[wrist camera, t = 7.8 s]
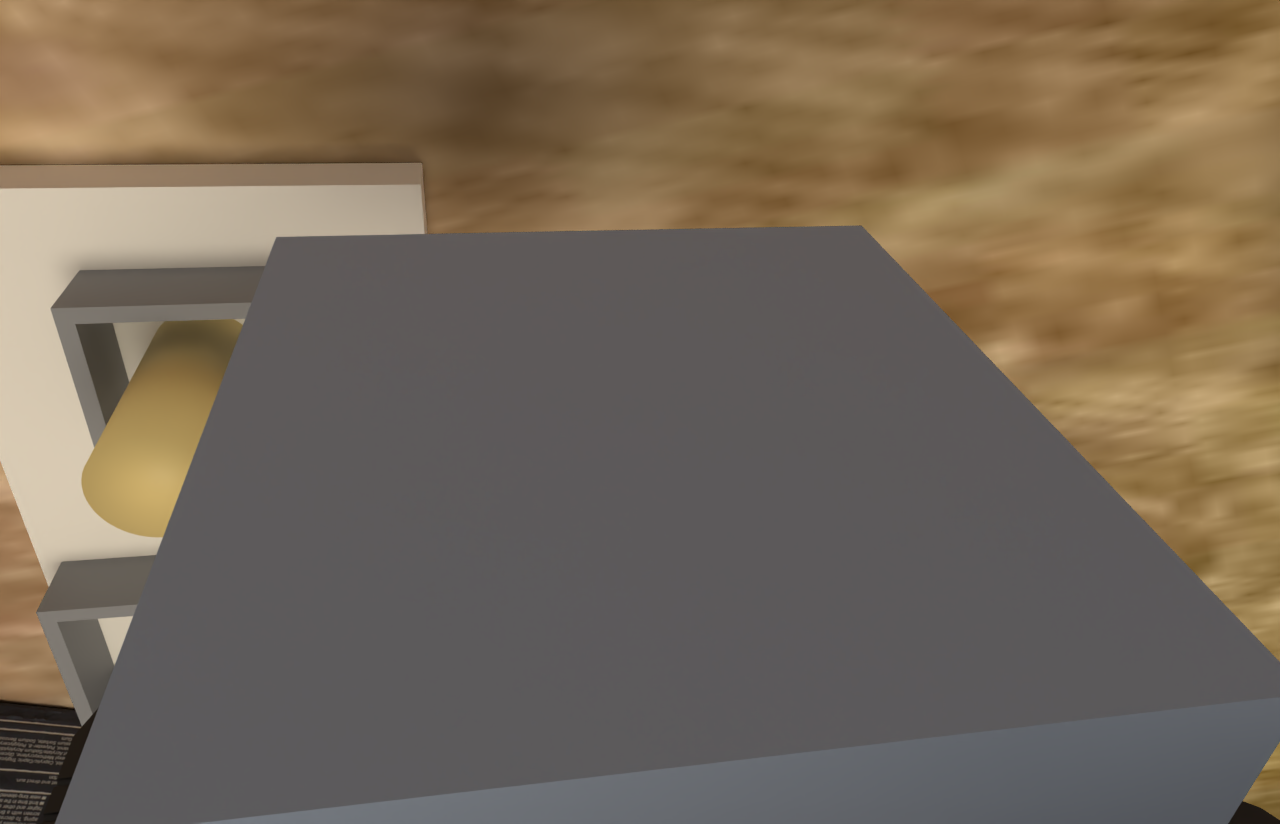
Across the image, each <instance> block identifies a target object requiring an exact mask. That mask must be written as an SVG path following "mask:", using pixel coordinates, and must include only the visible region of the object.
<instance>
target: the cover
mask: <svg viewBox="0 0 1280 824" xmlns="http://www.w3.org/2000/svg"><path fill="white" fill-rule="evenodd" d="M1279 742H1280V662H1279V661H1278V660H1277V659H1276V658H1275V657H1274V656H1273V655H1272V654H1271V653H1270V651H1269V650H1268V649H1267V648H1266V647H1265V646H1264V645H1263V644H1262V643H1261V642H1260V641H1259V640H1258V639H1257V638H1256V637H1255V636H1254V635H1253V634H1252V633H1251V632H1250V631H1249V630H1248V629H1247V627H1246V626H1245V625H1244V624H1243V623H1242V622H1241V621H1240V620H1239V619H1238V618H1237V617H1236V616H1235V615H1234V614H1233V613H1232V612H1231V611H1230V610H1229V609H1228V608H1227V607H1226V606H1225V605H1224V603H1223V602H1222V601H1221V600H1220V599H1219V598H1218V597H1217V596H1216V595H1215V594H1214V593H1213V592H1212V591H1211V590H1210V589H1209V588H1208V587H1207V586H1206V585H1205V584H1204V583H1203V582H1202V581H1201V579H1200V578H1199V577H1198V576H1197V575H1196V574H1195V573H1194V572H1193V571H1192V570H1191V569H1190V568H1189V567H1188V566H1187V565H1186V564H1185V563H1184V562H1183V561H1182V560H1181V559H1180V558H1179V557H1178V555H1177V554H1176V553H1175V552H1174V551H1173V550H1172V549H1171V548H1170V547H1169V546H1168V545H1167V544H1166V543H1165V542H1164V541H1163V540H1162V539H1161V538H1160V537H1159V536H1158V535H1157V534H1156V533H1155V531H1154V530H1153V529H1152V528H1151V527H1150V526H1149V525H1148V524H1147V523H1146V522H1145V521H1144V520H1143V519H1142V518H1141V517H1140V516H1139V515H1138V514H1137V513H1136V512H1135V511H1134V510H1133V509H1132V507H1131V506H1130V505H1129V504H1128V503H1127V502H1126V501H1125V500H1124V499H1123V498H1122V497H1121V496H1120V495H1119V494H1118V493H1117V492H1116V491H1115V490H1114V489H1113V488H1112V487H1111V486H1110V485H1109V483H1108V482H1107V481H1106V480H1105V479H1104V478H1103V477H1102V476H1101V475H1100V474H1099V473H1098V472H1097V471H1096V470H1095V469H1094V468H1093V467H1092V466H1091V465H1090V464H1089V463H1088V462H1087V461H1086V459H1085V458H1084V457H1083V456H1082V455H1081V454H1080V453H1079V452H1078V451H1077V450H1076V449H1075V448H1074V447H1073V446H1072V445H1071V444H1070V443H1069V442H1068V441H1067V440H1066V439H1065V438H1064V437H1063V435H1062V434H1061V433H1060V432H1059V431H1058V430H1057V429H1056V428H1055V427H1054V426H1053V425H1052V424H1051V423H1050V422H1049V421H1048V420H1047V419H1046V418H1045V417H1044V416H1043V415H1042V414H1041V412H1040V411H1039V410H1038V409H1037V408H1036V407H1035V406H1034V405H1033V404H1032V403H1031V402H1030V401H1029V400H1028V399H1027V398H1026V397H1025V396H1024V395H1023V394H1022V393H1021V392H1020V391H1019V390H1018V388H1017V387H1016V386H1015V385H1014V384H1013V383H1012V382H1011V381H1010V380H1009V379H1008V378H1007V377H1006V376H1005V375H1004V374H1003V373H1002V372H1001V371H1000V370H999V369H998V368H997V367H996V366H995V364H994V363H993V362H992V361H991V360H990V359H989V358H988V357H987V356H986V355H985V354H984V353H983V352H982V351H981V350H980V349H979V348H978V347H977V346H976V345H975V344H974V343H973V342H972V340H971V339H970V338H969V337H968V336H967V335H966V334H965V333H964V332H963V331H962V330H961V329H960V328H959V327H958V326H957V325H956V324H955V323H954V322H953V321H952V320H951V319H950V318H949V316H948V315H947V314H946V313H945V312H944V311H943V310H942V309H941V308H940V307H939V306H938V305H937V304H936V303H935V302H934V301H933V300H932V299H931V298H930V297H929V296H928V295H927V294H926V292H925V291H924V290H923V289H922V288H921V287H920V286H919V285H918V284H917V283H916V282H915V281H914V280H913V279H912V278H911V277H910V276H909V275H908V274H907V273H906V272H905V271H904V270H903V268H902V267H901V266H900V265H899V264H898V263H897V262H896V261H895V260H894V259H893V258H892V257H891V256H890V255H889V254H888V253H887V252H886V251H885V250H884V249H883V248H882V247H881V246H880V244H879V243H878V242H877V241H876V240H875V239H874V238H873V237H872V236H871V235H870V234H869V233H868V232H867V231H866V230H865V229H864V228H863V227H862V226H817V227H765V228H713V229H660V230H608V231H556V232H504V233H452V234H400V235H347V236H295V237H276V239H275V241H274V244H273V247H272V249H271V252H270V255H269V257H268V260H267V263H266V265H265V268H264V271H263V273H262V276H261V279H260V281H259V284H258V287H257V289H256V292H255V294H254V297H253V300H252V302H251V305H250V308H249V310H248V313H247V316H246V318H245V321H244V324H243V326H242V329H241V332H240V334H239V337H238V340H237V342H236V345H235V348H234V350H233V353H232V355H231V358H230V361H229V363H228V366H227V369H226V371H225V374H224V377H223V379H222V382H221V385H220V387H219V390H218V393H217V395H216V398H215V401H214V403H213V406H212V409H211V411H210V414H209V416H208V419H207V422H206V424H205V427H204V430H203V432H202V435H201V438H200V440H199V443H198V446H197V448H196V451H195V454H194V456H193V459H192V462H191V464H190V467H189V469H188V472H187V475H186V477H185V480H184V483H183V485H182V488H181V491H180V493H179V496H178V499H177V501H176V504H175V507H174V509H173V512H172V515H171V517H170V520H169V523H168V525H167V528H166V530H165V533H164V536H163V538H162V541H161V544H160V546H159V549H158V552H157V554H156V557H155V560H154V562H153V565H152V568H151V570H150V573H149V576H148V578H147V581H146V583H145V586H144V589H143V591H142V594H141V597H140V599H139V602H138V605H137V607H136V610H135V613H134V615H133V618H132V621H131V623H130V626H129V629H128V631H127V634H126V637H125V639H124V642H123V644H122V647H121V650H120V652H119V655H118V658H117V660H116V663H115V666H114V668H113V671H112V674H111V676H110V679H109V682H108V684H107V687H106V690H105V692H104V695H103V698H102V700H101V703H100V705H99V708H98V711H97V713H96V716H95V719H94V721H93V724H92V727H91V729H90V732H89V735H88V737H87V740H86V743H85V745H84V748H83V751H82V753H81V756H80V758H79V761H78V764H77V766H76V769H75V772H74V774H73V777H72V780H71V782H70V785H69V788H68V790H67V793H66V796H65V798H64V801H63V804H62V806H61V809H60V812H59V814H58V817H57V819H56V822H55V824H1228V823H1229V821H1230V820H1231V818H1232V817H1233V815H1234V813H1235V812H1236V810H1237V809H1238V807H1239V806H1240V804H1241V802H1242V801H1243V799H1244V798H1245V796H1246V794H1247V793H1248V791H1249V790H1250V788H1251V786H1252V785H1253V783H1254V782H1255V780H1256V778H1257V777H1258V775H1259V774H1260V772H1261V770H1262V769H1263V767H1264V766H1265V764H1266V762H1267V761H1268V759H1269V758H1270V756H1271V754H1272V753H1273V751H1274V750H1275V748H1276V747H1277V745H1278V743H1279Z"/></svg>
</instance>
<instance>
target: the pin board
mask: <svg viewBox="0 0 1280 824" xmlns="http://www.w3.org/2000/svg"><path fill="white" fill-rule="evenodd" d="M400 234H427V220H426V207H425V194H424V181H423V167H422V163H313V164H146V165H0V461H1V464H2V466H3V469H4V472H5V474H6V477H7V479H8V482H9V485H10V487H11V490H12V492H13V495H14V498H15V500H16V503H17V505H18V508H19V511H20V513H21V516H22V518H23V521H24V524H25V526H26V529H27V531H28V534H29V537H30V539H31V542H32V544H33V547H34V550H35V552H36V555H37V557H38V560H39V563H40V565H41V568H42V570H43V573H44V576H45V578H46V581H47V583H48V586H49V588H48V590H47V592H46V594H45V596H44V598H43V600H42V602H41V604H40V606H39V608H38V610H37V612H36V613H37V616H38V618H39V621H40V623H41V626H42V628H43V631H44V633H45V636H46V638H47V641H48V643H49V646H50V648H51V651H52V653H53V656H54V658H55V661H56V663H57V665H58V668H59V670H60V673H61V675H62V678H63V680H64V683H65V685H66V688H67V690H68V693H69V695H70V698H71V700H72V703H73V705H74V708H75V710H76V713H77V715H78V718H79V720H80V723H81V725H82V726H83V725H84V724H85V722H86V721H87V720H88V719H89V718H90V717H91V716H92V714H93V713H94V712H95V711H96V710H97V709H98V708H99V705H100V703H101V700H102V698H103V695H104V692H105V690H106V687H107V684H108V682H109V679H110V676H111V674H112V671H113V668H114V666H115V663H116V660H117V658H118V655H119V652H120V650H121V647H122V644H123V642H124V639H125V637H126V634H127V631H128V629H129V626H130V623H131V621H132V618H133V615H134V613H135V610H136V607H137V605H138V602H139V599H140V597H141V594H142V591H143V589H144V586H145V583H146V581H147V578H148V576H149V573H150V570H151V568H152V565H153V562H154V560H155V557H156V554H157V552H158V549H159V546H160V544H161V541H162V538H163V536H164V533H165V530H166V528H167V525H168V523H169V520H170V517H171V515H172V512H173V509H174V507H175V504H176V501H177V499H178V496H179V493H180V491H181V488H182V485H183V483H184V480H185V477H186V475H187V472H188V469H189V467H190V464H191V462H192V459H193V456H194V454H195V451H196V448H197V446H198V443H199V440H200V438H201V435H202V432H203V430H204V427H205V424H206V422H207V419H208V416H209V414H210V411H211V409H212V406H213V403H214V401H215V398H216V395H217V393H218V390H219V387H220V385H221V382H222V379H223V377H224V374H225V371H226V369H227V366H228V363H229V361H230V358H231V355H232V353H233V350H234V348H235V345H236V342H237V340H238V337H239V334H240V332H241V329H242V326H243V324H244V321H245V318H246V316H247V313H248V310H249V308H250V305H251V302H252V300H253V297H254V294H255V292H256V289H257V287H258V284H259V281H260V279H261V276H262V273H263V271H264V268H265V265H266V263H267V260H268V257H269V255H270V252H271V249H272V247H273V244H274V241H275V239H276V237H295V236H347V235H400Z"/></svg>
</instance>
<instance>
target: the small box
mask: <svg viewBox="0 0 1280 824" xmlns="http://www.w3.org/2000/svg"><path fill="white" fill-rule="evenodd" d="M81 727H82V725H81V723H80V720H79V718H78V715H77V713H76V710H68V709H57V708H49V707H39V706H28V705H19V704H11V703H0V824H39V823H41V822H43V818H44V815H43V813H44V810H45V808H46V805H47V802H48V800H49V797H50V795H51V792H52V790H53V787H56V786H57V777H58V774H59V772H60V769H61V767H62V764H63V762H64V759H65V757H66V754H67V751H68V749H69V746H70V744H71V741H72V739H73V736H74V735H75V734H76V733H77V732H78V730H79V729H80V728H81Z"/></svg>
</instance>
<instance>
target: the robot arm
mask: <svg viewBox="0 0 1280 824" xmlns="http://www.w3.org/2000/svg"><path fill="white" fill-rule="evenodd" d="M97 711H98V709H97V710H96V711H95V712H94V713H93V714H92V716H91V717H90V718H89V719H88V720H87V721H86V722H85V724H84V725H83V726H82V727H81V728H80V729H79V730H78V732H77V733H76V734H75V735H74V736H73V739H72V741H71V744H70V746H69V749H68V751H67V754H66V757H65V759H64V762H63V764H62V767H61V769H60V772H59V774H58V777H57V786H56V787H53V790H52V792H51V795H50V797H49V800H48V802H47V805H46V808H45V810H44V813H43V815H44V818H43V822H41V823H39V824H55V822H56V819H57V817H58V814H59V812H60V809H61V806H62V804H63V801H64V798H65V796H66V793H67V790H68V788H69V785H70V782H71V780H72V777H73V774H74V772H75V769H76V766H77V764H78V761H79V758H80V756H81V753H82V751H83V748H84V745H85V743H86V740H87V737H88V735H89V732H90V729H91V727H92V724H93V721H94V719H95V716H96V713H97ZM1228 824H1280V820H1278V819H1277V818H1275V817H1274V816H1272V815H1271V814H1269V813H1268V812H1266V811H1264V810H1263V809H1261V808H1259V807H1257V806H1254V805H1251V804H1249V803H1246V802H1243V801H1242V802H1241V804H1240V806H1239V807H1238V809H1237V810H1236V812H1235V813H1234V815H1233V817H1232V818H1231V820H1230V821H1229V823H1228Z"/></svg>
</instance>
